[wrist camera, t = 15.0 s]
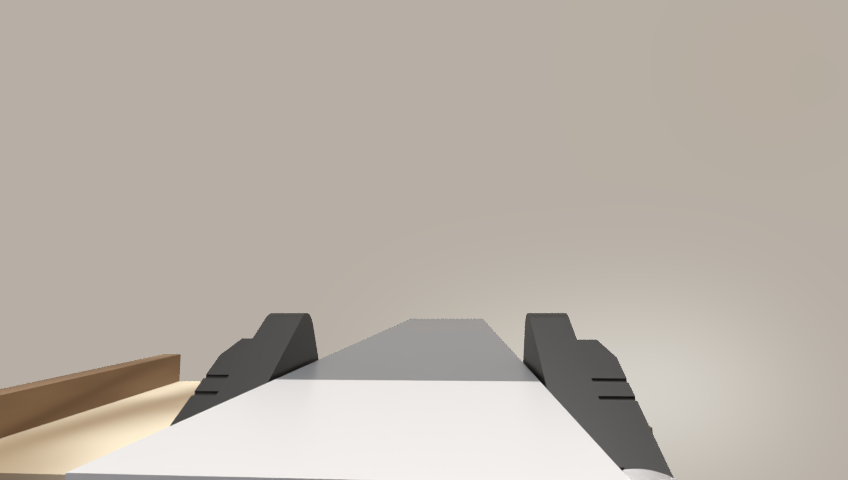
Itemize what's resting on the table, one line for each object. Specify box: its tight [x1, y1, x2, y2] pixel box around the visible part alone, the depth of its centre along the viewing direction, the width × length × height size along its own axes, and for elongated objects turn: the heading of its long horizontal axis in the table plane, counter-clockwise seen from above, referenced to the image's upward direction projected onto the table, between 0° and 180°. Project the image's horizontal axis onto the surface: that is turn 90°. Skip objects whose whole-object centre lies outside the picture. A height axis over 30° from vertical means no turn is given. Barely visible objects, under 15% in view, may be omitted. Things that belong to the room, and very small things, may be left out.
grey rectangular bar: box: [65, 319, 630, 480], centre depth 15 cm, size 4×24×4 cm, turn 176°
